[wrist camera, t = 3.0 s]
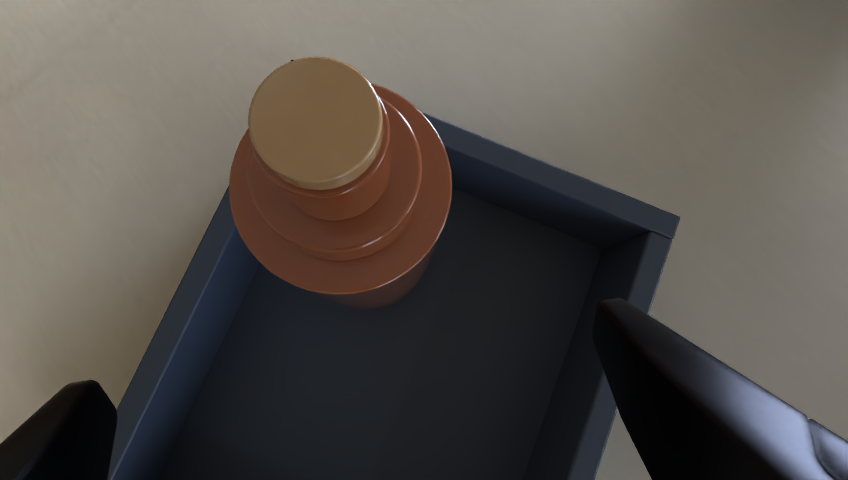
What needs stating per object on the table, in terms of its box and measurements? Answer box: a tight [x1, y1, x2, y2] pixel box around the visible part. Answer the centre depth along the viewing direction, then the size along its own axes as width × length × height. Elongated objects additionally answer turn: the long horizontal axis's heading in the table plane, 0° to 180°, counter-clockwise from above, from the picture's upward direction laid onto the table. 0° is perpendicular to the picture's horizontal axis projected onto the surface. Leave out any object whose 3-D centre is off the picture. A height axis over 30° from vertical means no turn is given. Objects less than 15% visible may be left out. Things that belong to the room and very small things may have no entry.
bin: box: [107, 60, 680, 480], centre depth 18 cm, size 16×14×4 cm
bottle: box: [229, 57, 452, 311], centre depth 14 cm, size 5×5×12 cm
